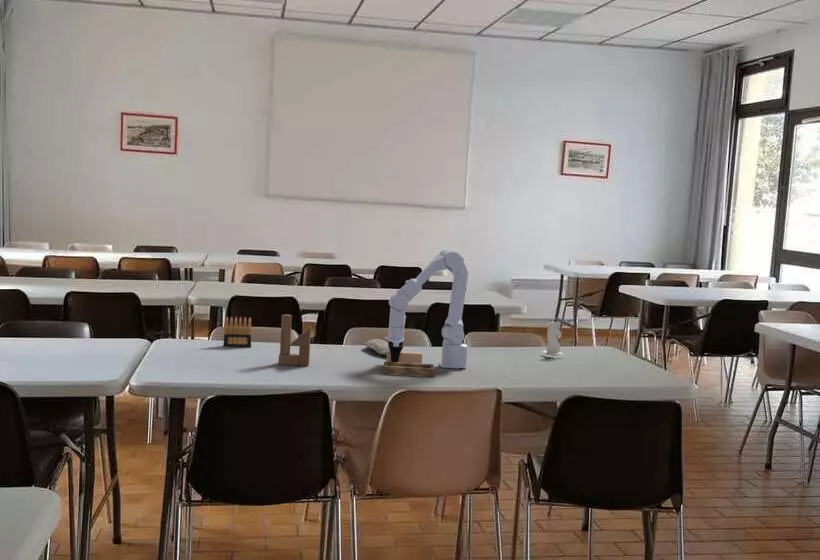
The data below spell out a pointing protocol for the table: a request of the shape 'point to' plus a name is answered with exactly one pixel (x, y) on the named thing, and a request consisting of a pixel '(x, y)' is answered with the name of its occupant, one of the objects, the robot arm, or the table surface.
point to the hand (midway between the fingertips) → (394, 362)
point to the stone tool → (378, 346)
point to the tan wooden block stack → (293, 344)
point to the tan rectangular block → (407, 357)
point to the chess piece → (553, 340)
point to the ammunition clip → (237, 333)
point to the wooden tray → (409, 369)
